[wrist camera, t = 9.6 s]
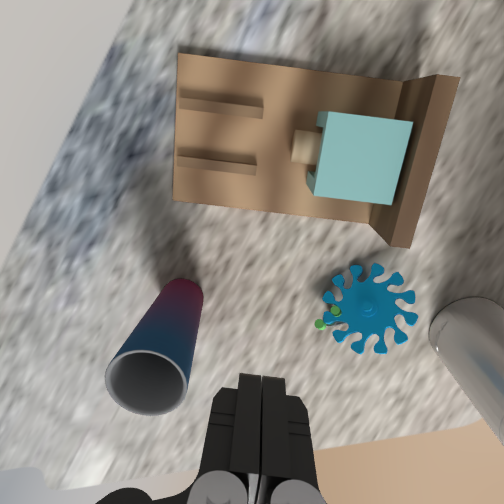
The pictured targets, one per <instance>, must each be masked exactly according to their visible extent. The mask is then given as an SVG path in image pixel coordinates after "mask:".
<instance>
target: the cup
mask: <svg viewBox="0 0 504 504" xmlns="http://www.w3.org/2000/svg"><path fill="white" fill-rule="evenodd" d="M202 306H203V293H202V290H201V289H200V287H199V286H198V285H197V284H195V283H194V282H192V281H190V280H187V279H175V280H172V281H170V282H169V283H168V284H167V285H166V286H165V287H164V289H163V290H162V291H161V293H160V294H159V295H158V297H157V298H156V300H155V301H154V302H153V304H152V305H151V307H150V308H149V309H148V311H147V312H146V314H145V315H144V316H143V318H142V319H141V320H140V322H139V323H138V325H137V326H136V327H135V329H134V330H133V332H132V333H131V334H130V336H129V337H128V339H127V340H126V341H125V343H124V344H123V346H122V347H121V348H120V350H119V351H118V352H117V354H116V355H115V357H114V358H113V359H112V361H111V362H110V364H109V365H108V367H107V369H106V373H105V384H106V388H107V390H108V392H109V394H110V396H111V397H112V398H113V399H114V401H115V402H116V403H118V404H119V405H120V406H121V407H123V408H125V409H126V410H128V411H131V412H133V413H136V414H140V415H146V416H157V415H162V414H166V413H168V412H171V411H173V410H174V409H176V408H177V407H178V406H179V405H180V404H181V403H182V402H183V400H184V398H185V396H186V393H187V389H188V383H189V378H190V372H191V367H192V361H193V355H194V350H195V344H196V339H197V333H198V328H199V322H200V317H201V311H202Z"/></svg>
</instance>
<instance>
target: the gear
mask: <svg viewBox="0 0 504 504" xmlns="http://www.w3.org/2000/svg"><path fill="white" fill-rule="evenodd" d="M350 271H351V273H352V275H353V283H352V286H351V288H349V289H345V288H344V283H345V279H344V277H343V276H342V275H341V274H340V275H337V276H335V277H334V278H332V281H333V283H334V284H335V285H336V286H337V287H339V288H340V289H341V291H342V295H343V299H342V300H341V301H339V302H338V301H335V297H334V295H333V294H332V293H331V292H330V291H327V292H326V293H325V294H324V296H323V298H322V299H323V301H324V302H325V303H327V304H334V305H336V306H333V307H331V312H329V311H326V312H324V315H323V321H322V320H321V319H318V320H316V321H315V327H316V328H318V329H320V330H324V329H325V328H326V326H328V327H334V326H339V325H343V324H348V325H349V328H348V330H347V331H341V330H335V331H333V336H334V338H335V340H336V341H337V342H338V343H341V342H343V341H344V339H345V338H346V337H347V336H348V335H350V334H352V333H356V332H360V333H362V339H361V340H360V341H356V342H353V343H352V345H351V349H352V350H354V351H355V352H357V353H359V354H362V353H363V352H364V346H365V342H366V341H367V339H368V338H369V337H370V336H371V335H372V334H377V335H378V336H379V341H378V342H377V343H376V344H375V346H374V351H375V353H378V354H386V353H387V347H386V345H385V342H384V333H385V330H386V329H387V328H389V327H390V328H393V329H394V330H395V335H394V340H395V342H396V343H397V344H398V345H399V344H402V343H404V342H406V341H407V340H408V337H407V335H406V334H405V333H404V332H402V331H401V330H400V329H399V328H398V327H397V325H396V323H395V320H394V317H395V316H396V315H398V314H400V315H403V316H404V318H405V321H406V323H407V324H408V325H409V326H413V325H414V324H415V323H416V321H417V319H418V315H417V314H416V313H413V312H406V311H404V310H402V309H400V308H399V307H398V306H397V305H396V304H395V301H396V299H399V298H400V299H403V300H404V301H405V302H407V303H408V304H414V303H415V292H414V291H412V290H409V291H406V292H404V293H393V292H389V291H388V290H387V287H388V286H389V285H397V286H400V285H402V284H403V283H404V280H403V278H402V276H401V275H400V274H399V272H395V273H393V274H392V276H391V277H390V278H389V279H388V280H387V281H385V282H382V283H375V282H374V281H373V279H374V278H375V277H377V276H380V275H382V274H383V273H384V268H383V267H382V266H381V265H379V264H376V263H374V264H373V265H372V268H371V274H370V276H369V277H368V278H367V279H366V280H365V281H364V282H358V281H357V279H358V277H359V276H360V275H361V274H362V272H363V269H362V267H361V266H360V265H353V266H351V267H350Z"/></svg>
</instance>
